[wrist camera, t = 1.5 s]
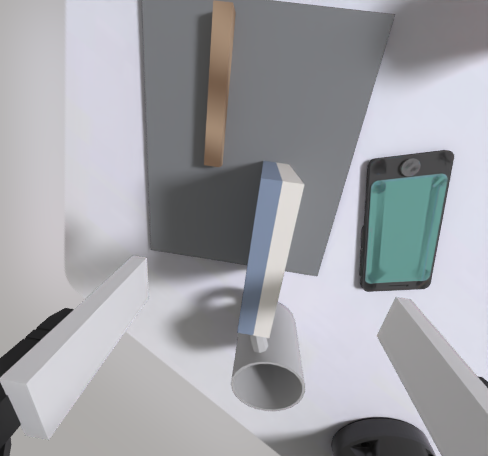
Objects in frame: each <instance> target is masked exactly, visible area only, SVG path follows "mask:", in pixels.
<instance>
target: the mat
mask: <svg viewBox="0 0 488 456" xmlns="http://www.w3.org/2000/svg"><path fill="white" fill-rule="evenodd" d="M215 1H224V2H232V3H233V4H234V8H235V12H236V15H235V27H234V38H233V50H232V61H231V73H230V84H229V96H228V107H227V119H226V130H225V142H224V153H223V165H222V166H221V167H214V166H207V165H204V155H205V137H206V120H207V102H208V85H209V67H210V49H211V32H212V14H213V0H142V18H143V46H144V74H145V102H146V130H147V158H148V186H149V213H150V241H151V250H155V251H161V252H168V253H174V254H180V255H187V256H193V257H199V258H205V259H212V260H218V261H224V262H230V263H237V264H243V265H248V258H249V252H250V245H251V239H252V232H253V226H254V219H255V213H256V206H257V200H258V193H259V187H260V180H261V174H262V167H263V161H269V162H276V163H283V164H289V165H290V166H291V168H292V169H293V170H294V172H295V173H296V174H297V175H298V177H299V178H300V179H301V181H302V182H303V183H304V189H303V193H302V198H301V202H300V206H299V211H298V215H297V219H296V224H295V228H294V232H293V237H292V241H291V245H290V250H289V254H288V259H287V263H286V267H285V271H287V272H293V273H300V274H306V275H312V276H318V272H319V269H320V266H321V262H322V259H323V256H324V252H325V249H326V245H327V242H328V239H329V235H330V232H331V229H332V225H333V222H334V219H335V215H336V212H337V208H338V205H339V202H340V198H341V195H342V192H343V188H344V185H345V182H346V178H347V175H348V171H349V168H350V165H351V161H352V158H353V155H354V151H355V148H356V145H357V141H358V138H359V135H360V131H361V128H362V124H363V121H364V118H365V114H366V111H367V108H368V104H369V101H370V98H371V94H372V91H373V87H374V84H375V81H376V77H377V74H378V71H379V67H380V64H381V61H382V57H383V54H384V51H385V47H386V44H387V40H388V37H389V34H390V30H391V27H392V24H393V20H394V17H395V14H388V13H379V12H370V11H361V10H352V9H343V8H335V7H326V6H317V5H308V4H299V3H291V2H282V1H273V0H215Z"/></svg>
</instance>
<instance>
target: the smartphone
mask: <svg viewBox="0 0 488 456" xmlns="http://www.w3.org/2000/svg"><path fill="white" fill-rule="evenodd" d="M453 160H454V154H453V153H452V152H451V151H448V150H441V151H433V152H425V153H416V154H408V155H400V156H392V157H384V158H376V159H373V160H371V161H370V162H369V164H368V168H367V185H366V201H365V218H364V226H363V227H362V238H361V247H362V248H363V249H362V250H361V256H360V262H361V264H360V276H361V283H360V284H361V286H362V288H363V289H364V290H365V291H367V292H371V291H392V290H412V289H425V288H427V287H429V285H430V283H431V278H432V273H433V267H434V262H435V257H436V251H437V246H438V240H439V235H440V230H441V224H442V219H443V214H444V208H445V203H446V197H447V192H448V187H449V181H450V176H451V171H452V165H453Z"/></svg>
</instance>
